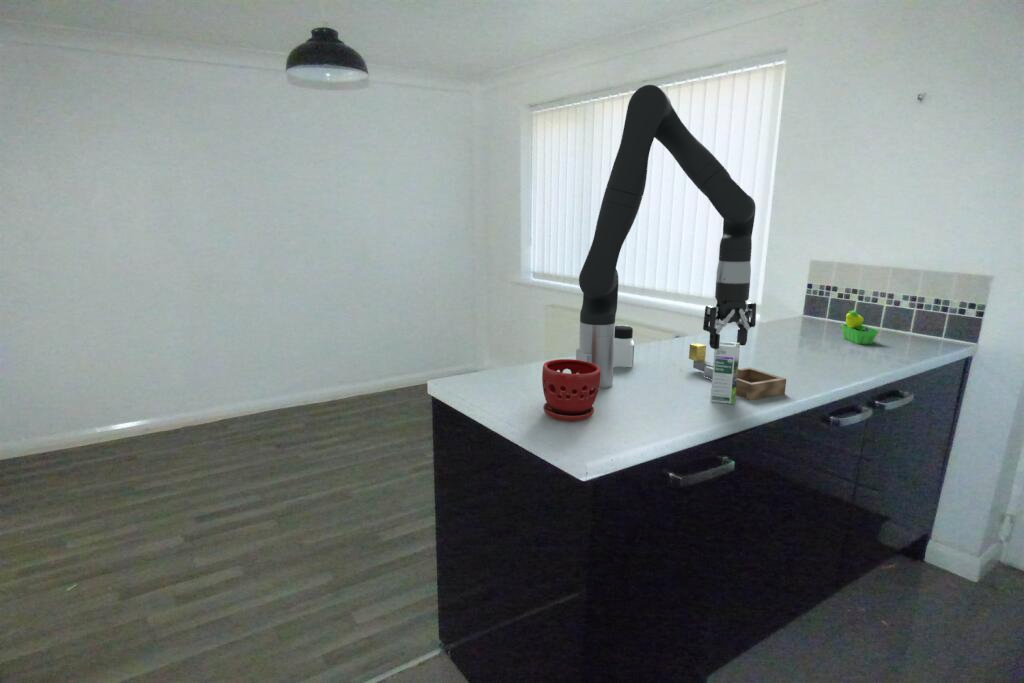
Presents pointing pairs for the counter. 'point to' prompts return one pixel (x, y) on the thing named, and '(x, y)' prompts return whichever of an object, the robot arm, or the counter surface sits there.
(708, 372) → the pin guide
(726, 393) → the syrup box
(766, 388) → the wooden tray
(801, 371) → the counter surface
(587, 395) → the plant pot
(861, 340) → the fruit basket
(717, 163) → the robot arm
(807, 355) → the counter surface
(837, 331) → the counter surface
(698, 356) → the lock pin
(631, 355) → the medicine bottle
